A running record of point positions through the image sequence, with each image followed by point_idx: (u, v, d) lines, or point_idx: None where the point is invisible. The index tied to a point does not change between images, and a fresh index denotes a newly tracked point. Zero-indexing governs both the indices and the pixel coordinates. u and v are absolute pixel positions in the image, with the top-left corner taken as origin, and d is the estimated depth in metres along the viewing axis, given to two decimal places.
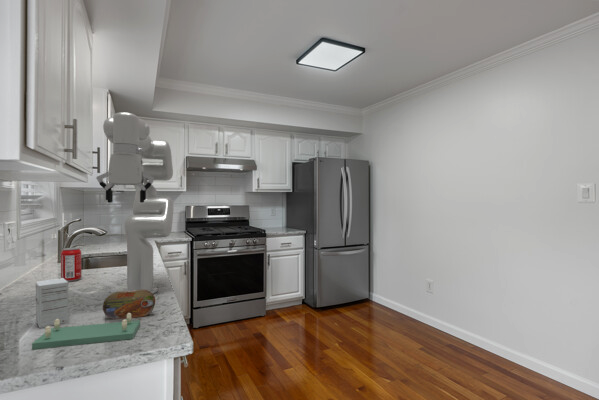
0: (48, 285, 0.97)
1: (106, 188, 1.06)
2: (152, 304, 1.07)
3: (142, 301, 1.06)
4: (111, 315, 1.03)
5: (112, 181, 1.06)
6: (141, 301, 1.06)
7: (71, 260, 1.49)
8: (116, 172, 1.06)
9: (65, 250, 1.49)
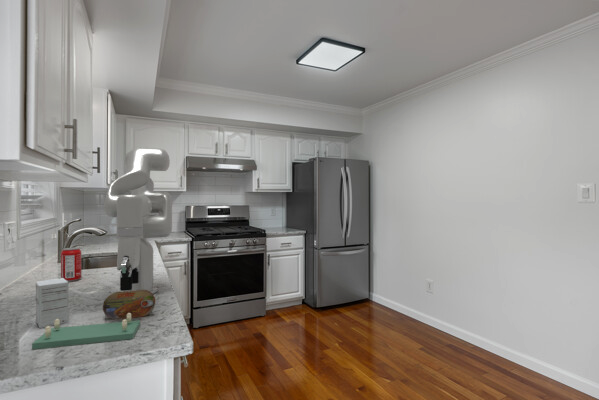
0: (48, 285, 0.97)
1: (130, 275, 1.00)
2: (152, 304, 1.07)
3: (142, 301, 1.06)
4: (111, 315, 1.03)
5: (134, 266, 1.02)
6: (141, 301, 1.06)
7: (71, 260, 1.49)
8: (136, 256, 1.04)
9: (65, 250, 1.49)
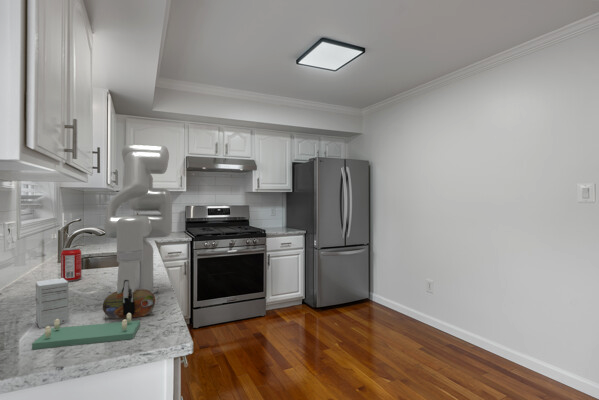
0: (48, 285, 0.97)
1: (132, 300, 1.04)
2: (152, 304, 1.07)
3: (142, 300, 1.06)
4: (111, 315, 1.03)
5: (134, 290, 1.03)
6: (141, 300, 1.06)
7: (71, 260, 1.49)
8: (136, 280, 1.04)
9: (65, 250, 1.49)
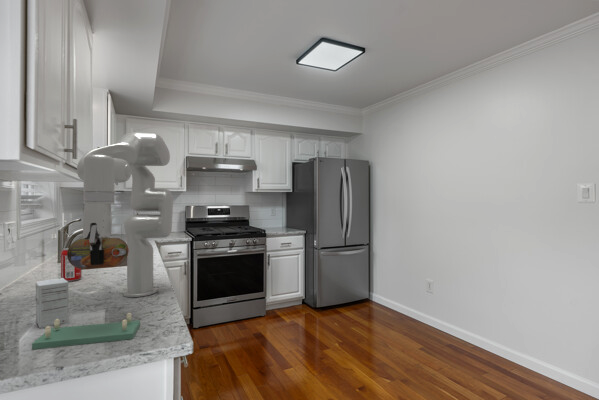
0: (48, 285, 0.97)
1: (101, 248, 0.91)
2: (125, 253, 0.94)
3: (113, 249, 0.93)
4: (77, 264, 0.91)
5: (103, 235, 0.90)
6: (112, 249, 0.93)
7: None
8: (106, 225, 0.92)
9: (65, 250, 1.49)
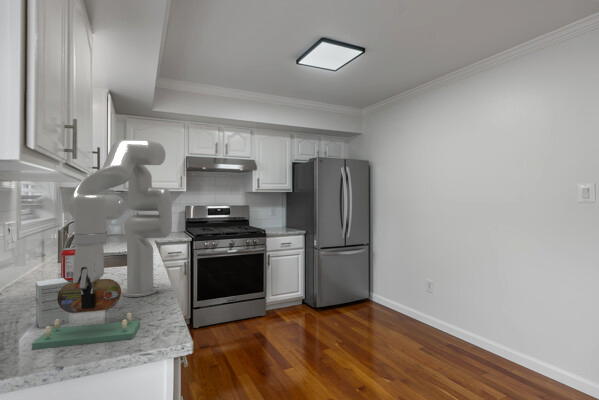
0: (48, 285, 0.97)
1: (92, 291, 0.88)
2: (117, 296, 0.91)
3: (105, 291, 0.91)
4: (68, 308, 0.88)
5: (94, 279, 0.88)
6: (104, 292, 0.91)
7: (71, 260, 1.49)
8: (97, 267, 0.89)
9: (65, 250, 1.49)
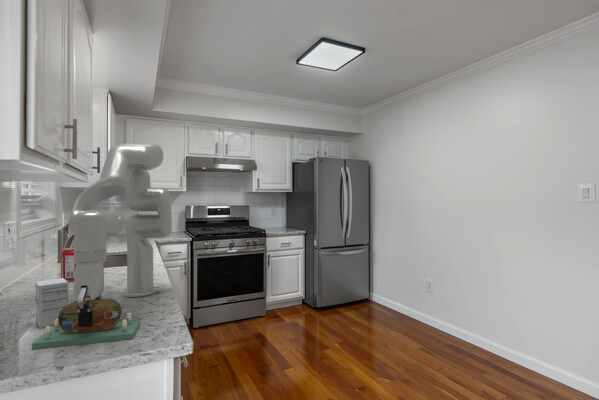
0: (48, 285, 0.97)
1: (89, 309, 0.86)
2: (117, 316, 0.92)
3: (105, 312, 0.91)
4: (68, 329, 0.88)
5: (94, 297, 0.88)
6: (104, 312, 0.91)
7: (71, 260, 1.49)
8: (97, 285, 0.89)
9: (65, 250, 1.49)
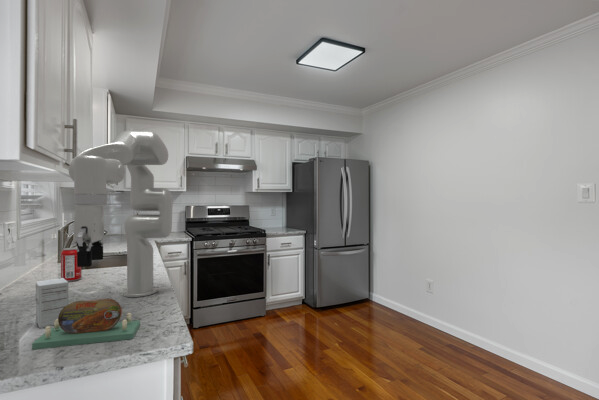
0: (48, 285, 0.97)
1: (88, 249, 0.86)
2: (117, 316, 0.92)
3: (105, 312, 0.91)
4: (68, 329, 0.88)
5: (95, 239, 0.88)
6: (104, 312, 0.91)
7: (71, 260, 1.49)
8: (97, 228, 0.89)
9: (65, 250, 1.49)
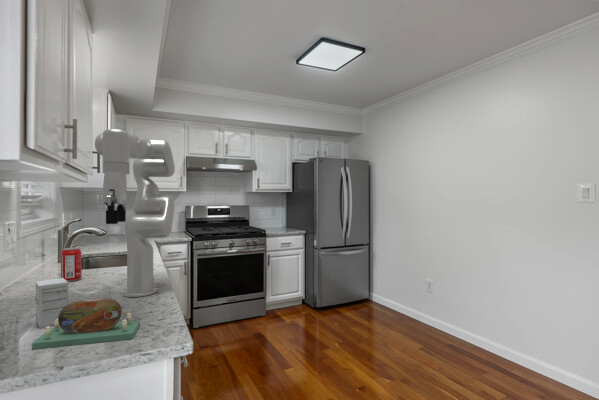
0: (48, 285, 0.97)
1: (115, 208, 1.00)
2: (117, 316, 0.92)
3: (105, 312, 0.91)
4: (68, 329, 0.88)
5: (120, 201, 1.02)
6: (104, 312, 0.91)
7: (71, 260, 1.49)
8: (122, 192, 1.03)
9: (65, 250, 1.49)
